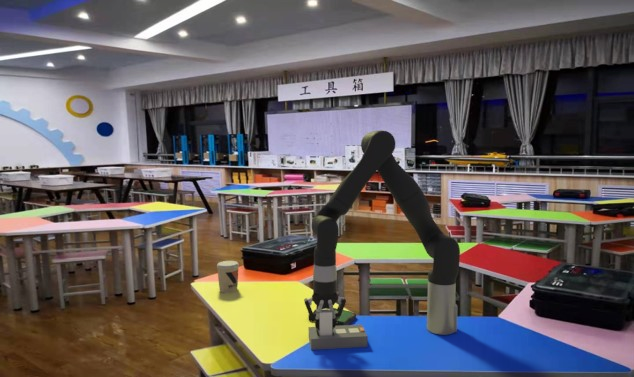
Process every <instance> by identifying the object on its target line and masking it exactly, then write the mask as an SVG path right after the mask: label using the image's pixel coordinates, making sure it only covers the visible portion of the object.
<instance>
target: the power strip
mask: <svg viewBox="0 0 634 377" xmlns="http://www.w3.org/2000/svg"><path fill="white" fill-rule="evenodd" d="M308 341H309V345H310V351H312V350H313V351H314V350H315V351H316V350H329V349H330V350H331V349H332V350H333V349H348V348H349V349H352V348H367V347H368V335H367V332H366V330H365V329H364V326H363V325H362V324H349V325H341V326H335V328H334V329H332V336H320V335H319V330H318V329H316V327H315V326H311V327H310V326H309V327H308Z"/></svg>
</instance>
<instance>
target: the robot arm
mask: <svg viewBox="0 0 634 377" xmlns="http://www.w3.org/2000/svg"><path fill="white" fill-rule="evenodd" d="M360 147H361V151H362V154H363V155H362V157H361V159H360V160H359V162H358V163H357V164H356V166H355V167H353V169H352V171H350V172H349V173H348V174H347V175H346V176H345V177H344V178H343V179H342V181H341V182H340V184H339V185H338V186H337V188H336V189H335V190H334V192H333V194H332V195H331V196H330V198H329V200H328V202H326V203H325V204H324V205H323V207H322V208H321V209H320V210H319V211H318V212H317V213H316V214H315V216H314V218H313V220H312V221H311V230H312V231H313V234H315V235H316V238H317V239H316V246H315V247H314V250H313V270H312V272H313V274H312V275H313V276H312V277H313V279H312V280H313V281H312V283H313V284H312V285H313V288H312V289H313V291H312V292H313V293H312V295H311V297H309V298H304V300H303V301H304V305H305V307H306V310H307V313H308V316H309V315H310V318H315V322H314V327H316V329H318V330H320V320H319V317H320V314H319V313H321V310H322V309H325V308H326V309H330V312H332V329H334V328H335V326H336V325H335V319H336V317H338V316H339V317H340V316H341V314H342V311H343V310H345V305H346V302H347V300H346V297H345V296H338V288H337V287H338V286H337V284H338V283H337V282H338V281H337V280H338V278H337V277H338V275H337V273H338V270H337V258H336V256H337V253H336V252H337V247H338V241H339V240H338V239H339V235H340V234H339V232H340V230H339V224H338V223H337V221H338V220H339V219H340V217H342V216H345V215H346V214H348V212H349V211H350V209H351V208H352V206H353V205H354V203H355V202H356V200H357V198H358V196H360V194H361V192H362V191H363V189H364V188H365V186H367V184H368V182H369V181H370V180H371V178H372V177H373V176H374V175H375V174H376V172H377V173H378V175H379V176H380V178H382V181H383V182H384V184H385V186H386V187H387V189H388V191H389V193H390V194H391V196H392V197H393V199H394V202H395V203H396V204H397V206H398V208H399V209H400V210H401V212H402V213H403V215H404V217H405V218H406V219H407V221H408V222H409V223H410V225H411V227H413V229H414V230H415V233H416V234H417V236H418V237H419V239H420V242H421V244H422V246H423V247H424V250H425V252H426V253H427V254H428V256H429V257H430V258H432V259H433V261H432V262H433V264H432V269H431V270H430V271H428V274H427V304H426V305H427V306H426V308H427V309H426V310H427V311H426V313H427V314H426V329H427V330H428V332H430V333H432V334H435V335H442V336H443V335H444V336H447V335H451V334H453V333H457V332H458V331H457V330H458V304H457V303H456V290H457V289H456V286H457V285H456V282H457V281H456V280H457V277H458V275H459V270H460V259H461V249H460V245H459V243H458V241H457V240H456V239H455V238H453V237H452V236H448V235H446V234H445V233H444V232H443V231H442V230H441V228H440V227H439V226H438V225H437V222H435V220H434V218H433V216H432V212H431V208H430V204H429V202H428V198H427V196H426V195H425V193H424V191H423V190H422V189H421V187H420V185H419V184H418V183H417V181H416V180H415V179H414V178H413V177H412V176H411V175H410V174H409V173H408V172H407V171H406V170H405V169H404V168H403V167H402V166H401V165H400V164H399V163H398V162H397V159H396V158H395V156H394V155H393V153H394V151H395V149H396V139H395V136H394V135H393V133H391V132H389V131H387V130H382V129H381V130H373V131H370V132H367V133H366V134H364V136H363V137H362V139H361V142H360ZM312 302H313V303H314V304H315V306H316V308H315V310H316V312H315V313H313V312H314V311H313V309H312V307H311V306H312V304H313V303H312ZM337 302H338V306H337V308H336V309H337V311H336V312H334V308H335V307H334V305H335V304H336V303H337Z"/></svg>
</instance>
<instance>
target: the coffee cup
mask: <svg viewBox="0 0 634 377" xmlns="http://www.w3.org/2000/svg"><path fill="white" fill-rule="evenodd" d="M239 265H240V264H239V262H238V261H236V260H223V261H219V262H218V263H217V264H216V267H217V279H218V285H219V286H218V287H219V291H220V292H221V293H233V292H236V291H238V286H239V284H238V283H239V282H238V280H239Z"/></svg>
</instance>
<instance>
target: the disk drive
mask: <svg viewBox="0 0 634 377" xmlns="http://www.w3.org/2000/svg"><path fill="white" fill-rule="evenodd" d="M333 308H334V312H336V311H337V308H335V307H333ZM312 312H313V313H315V312H316V309H314V311H312ZM356 319H357V314H356V312H354V311H351V310H350V311H349V310H345V309H343V311H342V314H341V316H340V317H339V316H338V317H336V319H335V325H336V326H341V325H351V323H352V322H354V320H356ZM310 320H311V322H314V321H315V318H310V315H309V314H308V321H310Z"/></svg>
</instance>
